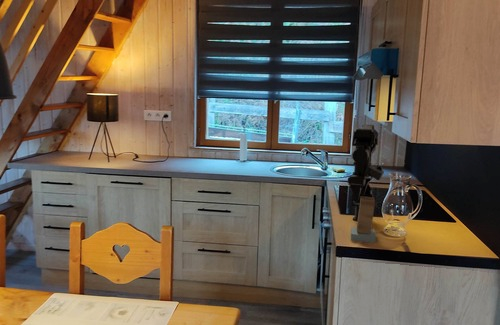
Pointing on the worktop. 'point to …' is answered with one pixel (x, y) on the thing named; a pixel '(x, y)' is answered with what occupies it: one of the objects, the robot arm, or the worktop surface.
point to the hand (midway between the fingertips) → (359, 197)
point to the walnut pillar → (365, 215)
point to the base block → (362, 235)
